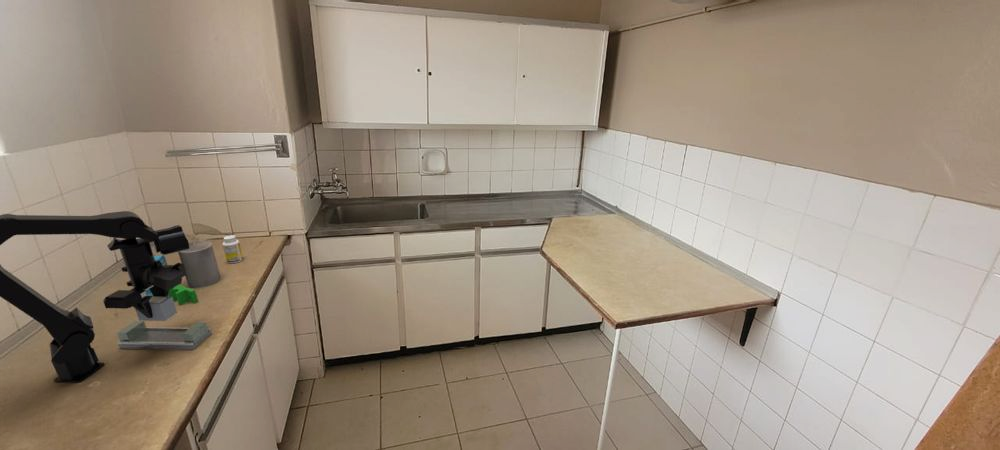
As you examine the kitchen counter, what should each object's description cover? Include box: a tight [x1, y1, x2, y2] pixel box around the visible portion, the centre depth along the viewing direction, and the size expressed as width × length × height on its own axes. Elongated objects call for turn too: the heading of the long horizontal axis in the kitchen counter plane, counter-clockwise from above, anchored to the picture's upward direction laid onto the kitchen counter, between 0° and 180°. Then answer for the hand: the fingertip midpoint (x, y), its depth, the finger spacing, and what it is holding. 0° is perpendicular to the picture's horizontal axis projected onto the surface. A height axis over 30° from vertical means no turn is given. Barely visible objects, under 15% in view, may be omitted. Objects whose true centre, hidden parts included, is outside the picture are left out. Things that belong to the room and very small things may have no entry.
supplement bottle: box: [222, 234, 244, 264], centre depth 156 cm, size 6×6×10 cm
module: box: [134, 296, 178, 322], centre depth 106 cm, size 4×7×5 cm, turn 89°
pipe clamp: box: [168, 284, 199, 306], centre depth 128 cm, size 11×4×5 cm, turn 67°
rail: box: [116, 320, 213, 351], centre depth 109 cm, size 7×20×4 cm, turn 89°
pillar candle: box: [177, 240, 221, 289], centre depth 139 cm, size 10×10×15 cm
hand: (157, 313), depth 106 cm, fingers closed on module, 4 cm apart
